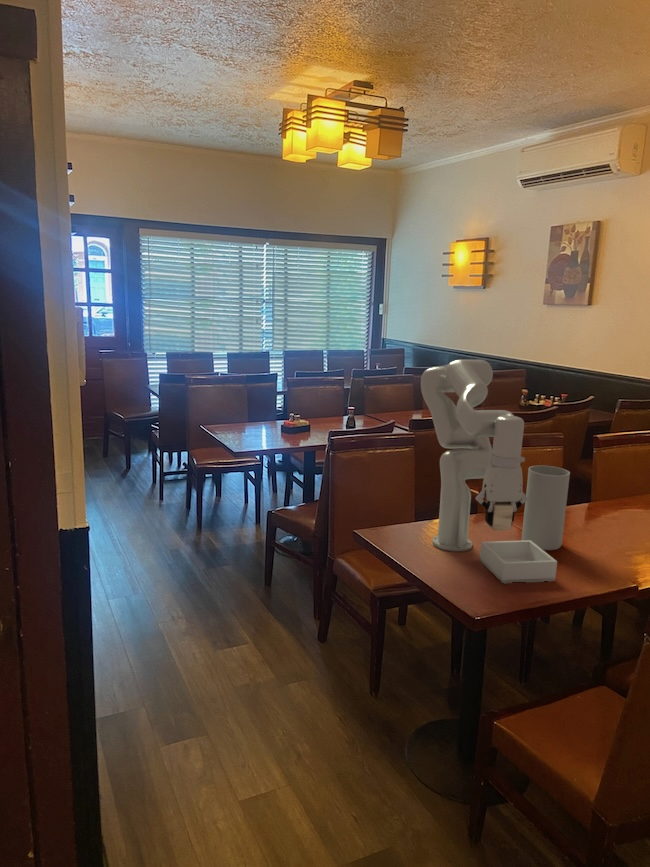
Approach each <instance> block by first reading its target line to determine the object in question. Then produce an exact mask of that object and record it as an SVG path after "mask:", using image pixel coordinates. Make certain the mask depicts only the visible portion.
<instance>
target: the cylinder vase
mask: <svg viewBox="0 0 650 867" xmlns="http://www.w3.org/2000/svg"><path fill="white" fill-rule="evenodd" d="M570 474H571V471H569V470H567V469H565V468H561V467H558V466H553V465H552V466H551V465H532V466H529V467H528V472H527V483H526V489H525V490H526V493H525V495H526V497H527V498H528V500H527V501H526V502H525V503H524V512H523V521H522V533H521V541H522V540H531V541H532V542H533V543H535V544H536V545H537V546H538V547H540V548H541V549H542V550H543V551H555V550H559V549H560V548H561V547H562V544H563V537H564V536H563V535H564V528H565V519H566V509H567V501H568V495H569V494H568V492H569V483H570V476H571V475H570Z"/></svg>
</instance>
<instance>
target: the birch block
mask: <svg viewBox="0 0 650 867" xmlns="http://www.w3.org/2000/svg"><path fill="white" fill-rule="evenodd" d="M492 512H493V523H492V526H490V525H489V524H488V523H487V522H486V524H487V526H489V528H491V530H492V531H511V530H512V526H511V524H512V525H513V522H512V515H513V505H512V504H511V503H509V502H495V505H494V507H493V510H492Z"/></svg>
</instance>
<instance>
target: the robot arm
mask: <svg viewBox="0 0 650 867" xmlns="http://www.w3.org/2000/svg"><path fill="white" fill-rule="evenodd" d="M493 376H494V372H493V368H492V366H491V364H490V363H489V362H488V361H487V360H484V359H456V360H453V361H450V362H449V363H448V364H447V365H446V366H433V367H429V368H427V369H425V370H424V372H422V374H421V377H420V392H421V395H422V397H423V400H424V402H425V404H426V406H427V408H428V410H429V412H430V415H431V419H432V422H433V426H434V430H435V434H436V438H437V441H438V443H439V445H440V446H441V447H442V448H444V449H449V450H447V451H445V452H443V453H442V454H441V455H440V458H439V471H440V498H439V501H440V503H439V513H438V514H439V515H438V528H437V529H438V530H437V535H434V537H432V544H433V545H434V546H435V547H436V548H438V549H439V550H440V549H441V550H443V551H449V552H465V551H468V550H470V549H472V546H473V542H472V540H470V539H469V537H468V536H469V526H470V515H471V514H470V513H471V502H472V501H471V500H472V493H471V489H470V487H469V486H468V484H467V483H466V480H473V479H474V480H475V479H476V480H477V479H478V480H479V479H483V481H482V487H481V490H480V492H479V493H477V495H476V497H475V500H476V501H477V503H479V504H480V505H481V506H482V507H483V508H484V509H485V516H484V520H485V522H486V524H487V523H488V524H489V525H490V526H492V523H493V512H492V510H493V507H494V505H495V502H509V503H511V504H512V505H513V515H512V524H511V527H512V526H513V522H514V521H515V513H516V512H517V511H518V509H519V508H520V507H522V505H523V504H525V502H526V501H527V500H528V498H527V497H526V493H524V491H523V485H524V484H523V482H524V480H523V469H522V468H523V467H522V466H521V463H524V462H525V461H526V458H525V456H522V448H523V441H524V440H523V439H524V430H525V421H524V419H523V417H519V416H516V415H514V414H513V413H512V412H511V411H509V410H505V409H479V410H477V409H474V408H475V407H477V406H479V405H481V404H482V403H483V402H484V401H485V399H486V398H487V396H488V394H489V389H488V386H489V384H490V383H492V380H493V378H494V377H493ZM445 393H456V395H457V396H458V400H457V403H456V404H455V402H453V400H452V399H451V398H450V397H448V396H447V395H446V394H445ZM490 438H493V441H492V444H491V441H490ZM484 498H486V501H485V500H484ZM488 524H487V525H488ZM489 525H488V526H489ZM490 526H489V527H490Z"/></svg>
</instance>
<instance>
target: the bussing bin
mask: <svg viewBox="0 0 650 867" xmlns="http://www.w3.org/2000/svg"><path fill="white" fill-rule="evenodd" d="M479 552H480V553H479V562H481V564H482V565H483V566H485V568H486V569H487V570H488V571H489V570H490V571H491V572H492V573H493V574H494V575H495V576H496V577H497V578H498V579H499V580H500V581H501V582H502V583H504V584H511V583H510V582H526V583H541V582H543V583H545V582H544V581H548V582H556V576H557V575H556V574H557V568H558V567H557V566H558V560H557V559H555V558H554V557H553V556H551V555H550V554H548V552H546V550H542V549H541V548H540V547H538V546H537V545H536V544H535V543H533V542H532V541H531V540H522V539H521V540H500V541H499V540H498V541H497V540H495V541H481V542H480V550H479ZM491 572H490V573H491ZM492 573H491V574H492ZM493 574H492V575H493ZM494 575H493V576H494ZM495 576H494V577H495ZM496 577H495V578H496ZM497 578H496V579H497ZM498 579H497V580H498ZM499 580H498V581H499ZM500 581H499V582H500ZM501 582H500V583H501ZM502 583H501V584H502Z"/></svg>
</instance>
